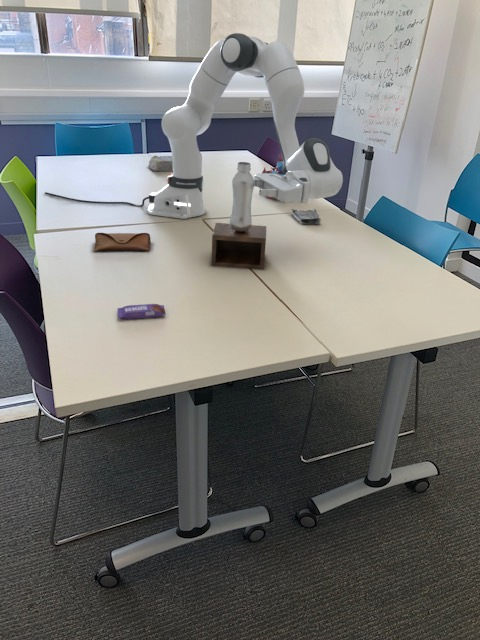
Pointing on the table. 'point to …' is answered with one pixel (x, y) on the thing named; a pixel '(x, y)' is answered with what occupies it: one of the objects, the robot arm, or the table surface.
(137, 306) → the snack package
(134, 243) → the sunglasses case
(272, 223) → the table surface
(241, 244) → the dark wooden box
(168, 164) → the geological specimen
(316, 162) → the robot arm
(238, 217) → the plastic bottle
